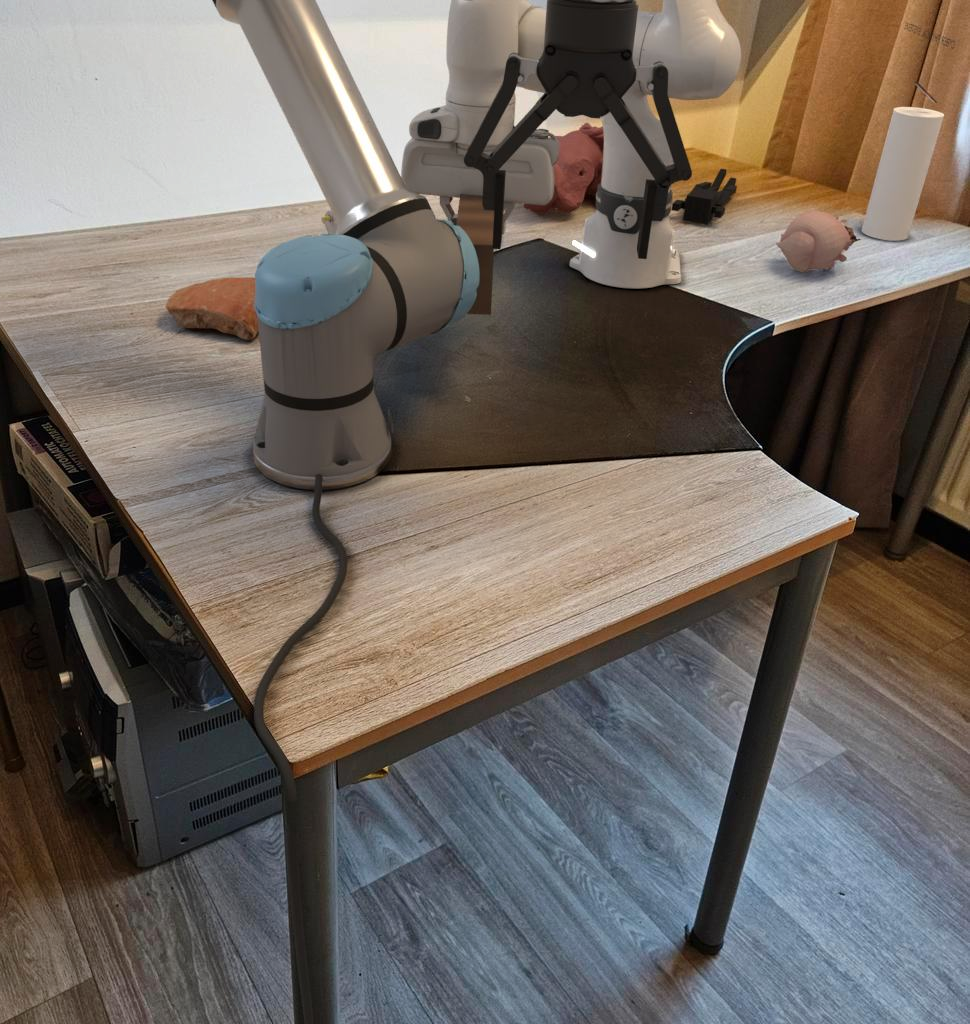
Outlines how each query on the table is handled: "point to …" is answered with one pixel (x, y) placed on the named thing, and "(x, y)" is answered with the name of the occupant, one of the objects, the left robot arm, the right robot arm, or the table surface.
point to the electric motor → (330, 222)
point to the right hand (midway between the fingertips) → (476, 230)
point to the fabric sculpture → (575, 169)
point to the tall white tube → (902, 168)
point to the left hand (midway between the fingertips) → (569, 249)
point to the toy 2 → (816, 241)
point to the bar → (479, 246)
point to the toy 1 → (706, 200)
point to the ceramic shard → (217, 306)
